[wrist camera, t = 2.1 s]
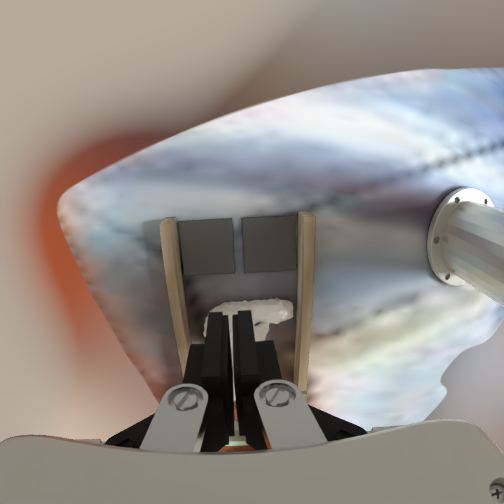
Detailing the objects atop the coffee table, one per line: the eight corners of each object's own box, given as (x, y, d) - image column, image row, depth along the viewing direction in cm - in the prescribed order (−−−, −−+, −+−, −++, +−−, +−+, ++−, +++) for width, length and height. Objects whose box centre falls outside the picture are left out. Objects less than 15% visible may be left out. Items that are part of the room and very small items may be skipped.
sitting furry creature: (261, 365, 35) (271, 441, 24) (192, 344, 34) (178, 419, 22) (295, 300, 33) (322, 368, 21) (220, 273, 32) (213, 337, 20)
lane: (307, 210, 30) (318, 218, 26) (297, 420, 39) (302, 440, 35) (166, 217, 29) (156, 226, 26) (200, 425, 38) (198, 445, 34)
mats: (294, 215, 30) (295, 216, 30) (294, 269, 32) (295, 270, 31) (179, 221, 30) (178, 221, 29) (184, 274, 31) (184, 275, 31)
